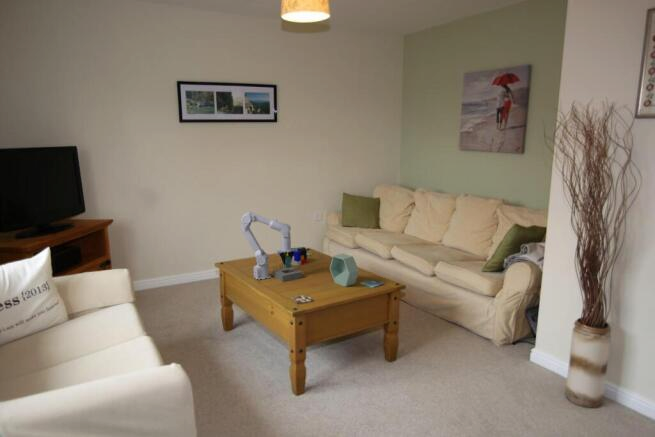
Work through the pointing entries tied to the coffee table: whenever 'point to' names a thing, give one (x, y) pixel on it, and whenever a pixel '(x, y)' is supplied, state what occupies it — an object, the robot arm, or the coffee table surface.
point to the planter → (344, 269)
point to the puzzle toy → (299, 257)
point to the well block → (287, 274)
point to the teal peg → (287, 262)
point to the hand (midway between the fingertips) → (287, 263)
